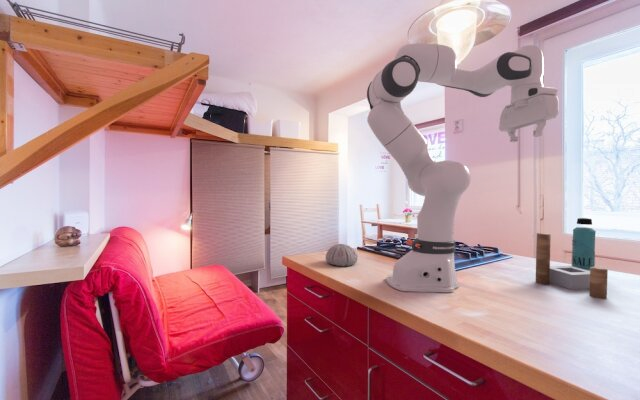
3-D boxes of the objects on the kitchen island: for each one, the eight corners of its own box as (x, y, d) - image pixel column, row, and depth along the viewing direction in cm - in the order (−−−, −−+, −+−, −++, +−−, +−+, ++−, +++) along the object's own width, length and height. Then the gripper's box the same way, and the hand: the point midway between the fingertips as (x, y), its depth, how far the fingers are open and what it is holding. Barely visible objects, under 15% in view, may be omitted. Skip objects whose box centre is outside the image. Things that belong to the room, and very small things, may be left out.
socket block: (571, 289, 90) (571, 274, 90) (542, 279, 100) (543, 266, 100) (600, 288, 91) (600, 273, 91) (569, 278, 101) (569, 265, 101)
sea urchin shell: (347, 258, 131) (347, 240, 131) (364, 265, 119) (364, 245, 118) (319, 261, 125) (319, 243, 125) (335, 269, 113) (335, 248, 113)
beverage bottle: (585, 270, 111) (586, 217, 111) (600, 275, 105) (601, 219, 104) (566, 270, 112) (567, 217, 111) (580, 275, 105) (581, 218, 105)
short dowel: (599, 298, 82) (599, 270, 82) (585, 294, 86) (586, 267, 85) (610, 298, 83) (611, 269, 82) (596, 293, 86) (597, 266, 86)
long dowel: (542, 284, 94) (543, 234, 94) (532, 281, 98) (533, 233, 97) (552, 284, 95) (553, 234, 94) (542, 280, 98) (543, 233, 98)
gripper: (494, 106, 108) (493, 144, 108) (545, 85, 88) (543, 131, 88) (510, 108, 109) (509, 145, 109) (563, 87, 89) (562, 133, 89)
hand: (525, 139), depth 98 cm, fingers open, 8 cm apart
